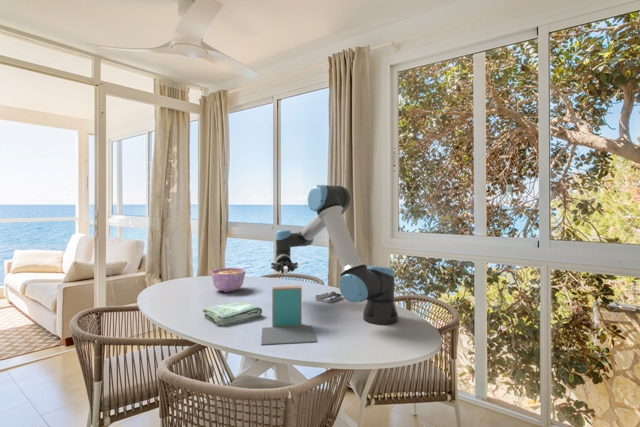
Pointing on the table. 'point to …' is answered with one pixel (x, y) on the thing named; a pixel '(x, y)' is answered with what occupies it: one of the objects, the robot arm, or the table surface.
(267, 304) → the table surface
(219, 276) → the bowl of food
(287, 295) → the terracotta slab
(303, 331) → the charcoal mat
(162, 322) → the table surface
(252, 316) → the towel
